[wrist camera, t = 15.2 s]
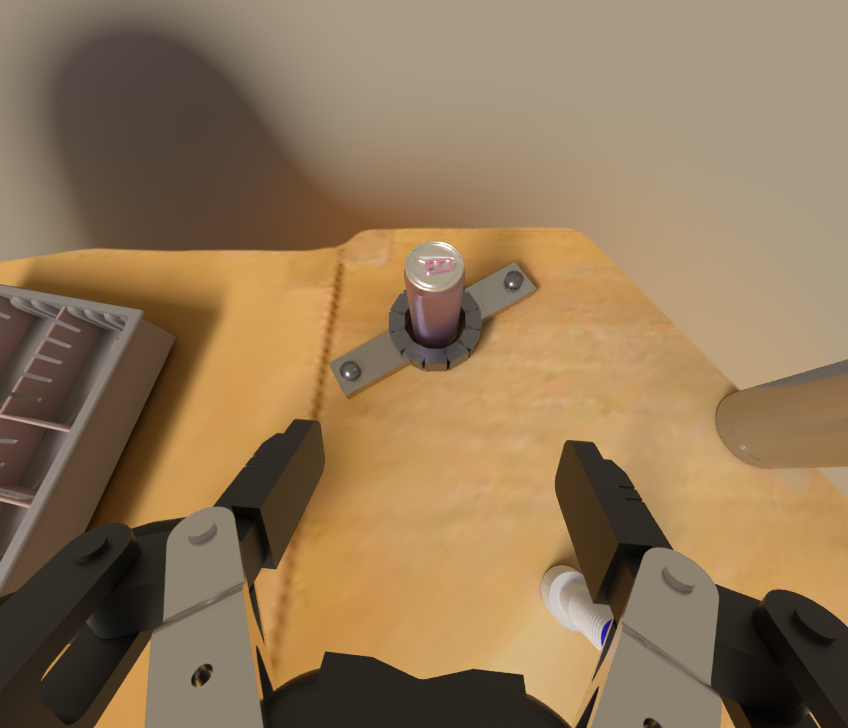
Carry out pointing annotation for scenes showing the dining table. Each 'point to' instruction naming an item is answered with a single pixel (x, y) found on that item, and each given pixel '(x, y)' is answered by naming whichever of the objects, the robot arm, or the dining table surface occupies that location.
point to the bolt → (575, 604)
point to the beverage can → (434, 292)
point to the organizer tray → (64, 415)
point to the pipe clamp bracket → (401, 351)
